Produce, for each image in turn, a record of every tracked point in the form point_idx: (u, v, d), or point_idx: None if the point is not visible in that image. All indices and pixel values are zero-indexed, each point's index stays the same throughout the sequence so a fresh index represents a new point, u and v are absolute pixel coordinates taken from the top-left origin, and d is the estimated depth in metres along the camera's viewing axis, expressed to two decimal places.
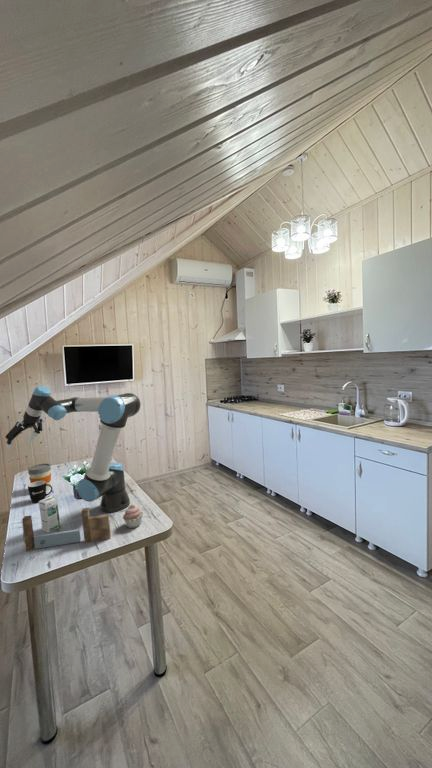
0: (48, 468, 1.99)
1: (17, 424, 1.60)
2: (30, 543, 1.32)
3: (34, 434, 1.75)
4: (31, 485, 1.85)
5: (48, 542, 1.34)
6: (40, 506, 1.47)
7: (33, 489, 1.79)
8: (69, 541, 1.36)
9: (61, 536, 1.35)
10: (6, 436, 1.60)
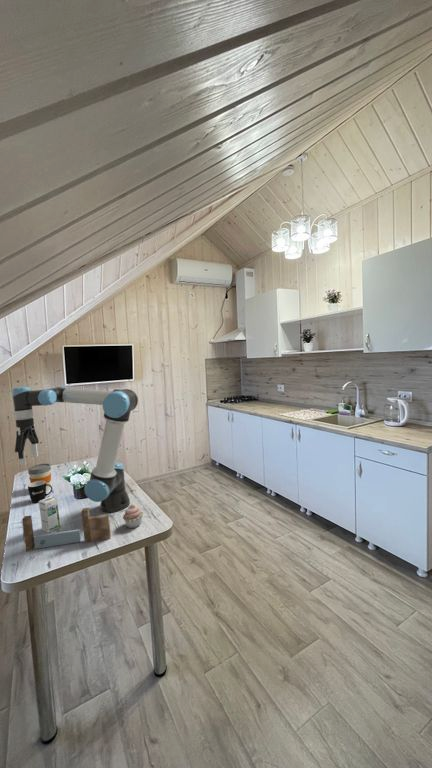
0: (48, 468, 1.99)
1: (18, 433, 1.49)
2: (30, 543, 1.32)
3: (34, 446, 1.63)
4: (31, 485, 1.85)
5: (48, 542, 1.34)
6: (40, 506, 1.47)
7: (33, 489, 1.79)
8: (69, 541, 1.36)
9: (61, 536, 1.35)
10: (16, 449, 1.47)
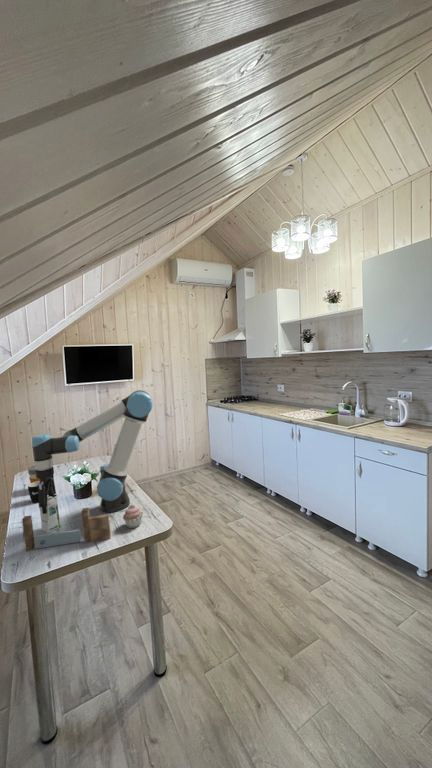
0: None
1: (40, 487, 1.42)
2: (30, 543, 1.32)
3: None
4: (31, 485, 1.85)
5: (48, 542, 1.34)
6: None
7: (33, 489, 1.79)
8: (69, 541, 1.36)
9: (61, 536, 1.35)
10: (40, 505, 1.42)
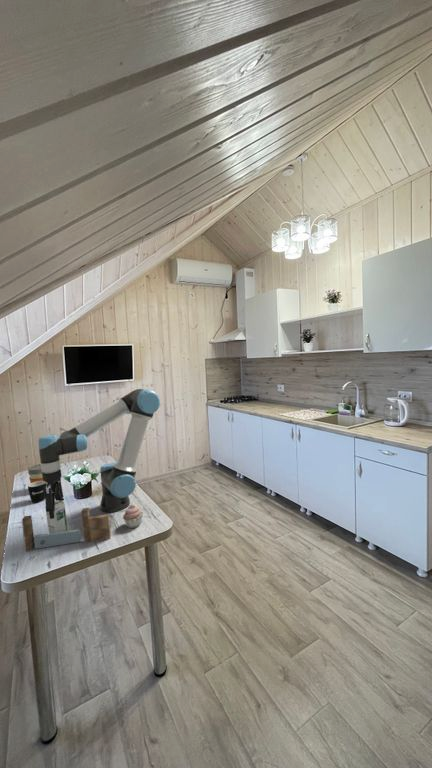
0: None
1: (47, 491, 1.34)
2: (30, 543, 1.32)
3: None
4: (31, 485, 1.85)
5: (48, 542, 1.34)
6: None
7: (33, 489, 1.79)
8: (69, 541, 1.36)
9: (61, 536, 1.35)
10: (47, 509, 1.34)
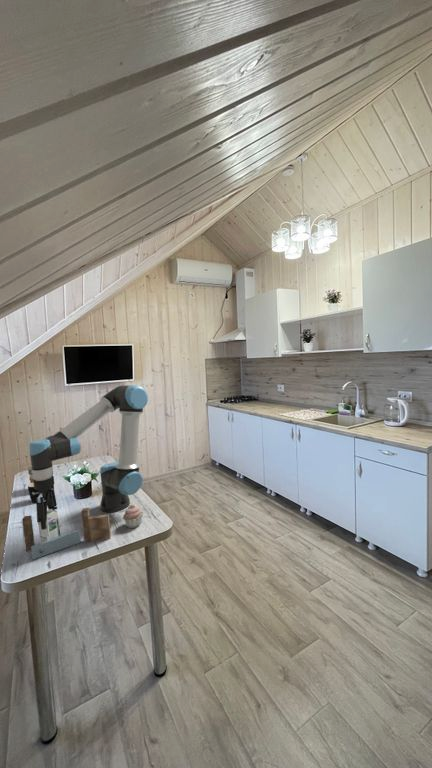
0: None
1: (38, 500, 1.25)
2: (30, 543, 1.32)
3: None
4: (31, 485, 1.85)
5: (47, 549, 1.29)
6: None
7: (33, 489, 1.79)
8: (69, 544, 1.33)
9: (61, 540, 1.32)
10: (38, 520, 1.25)
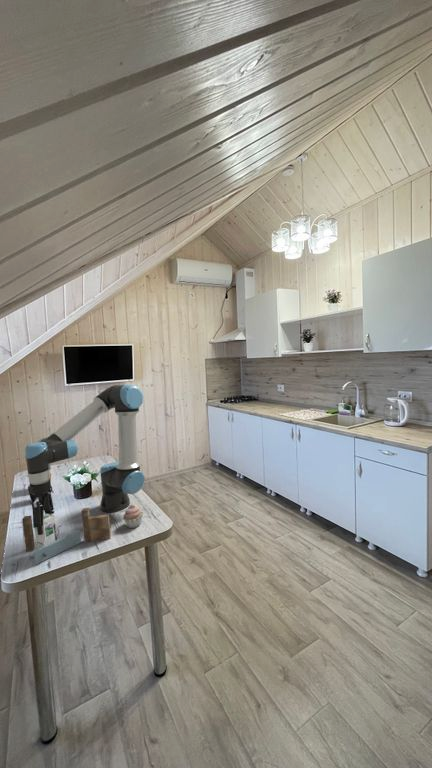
0: None
1: (34, 505, 1.21)
2: (30, 543, 1.32)
3: None
4: None
5: (50, 553, 1.26)
6: None
7: None
8: (71, 545, 1.33)
9: (63, 542, 1.30)
10: (34, 525, 1.21)
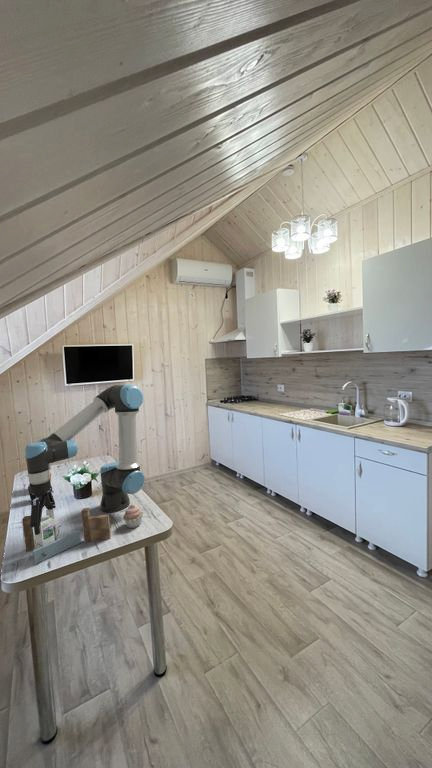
0: None
1: (34, 502, 1.21)
2: (30, 543, 1.32)
3: (51, 512, 1.35)
4: None
5: (49, 552, 1.27)
6: None
7: None
8: (71, 544, 1.33)
9: (63, 542, 1.30)
10: (31, 524, 1.19)
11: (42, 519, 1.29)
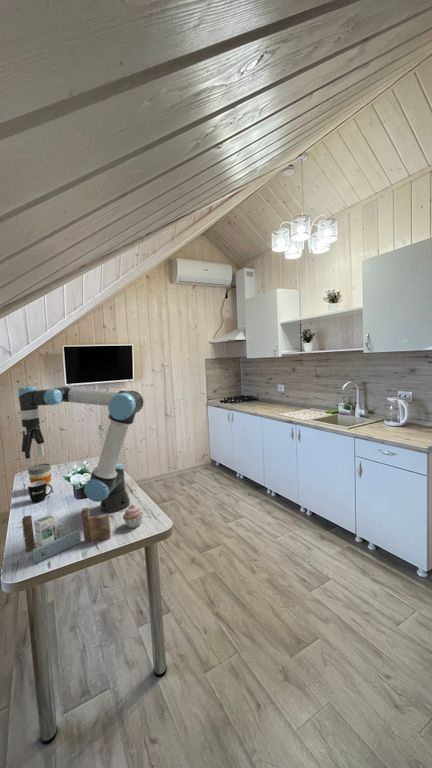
0: (48, 468, 1.99)
1: (25, 432, 1.49)
2: (30, 543, 1.32)
3: (40, 446, 1.63)
4: (31, 485, 1.85)
5: (49, 552, 1.27)
6: (35, 527, 1.28)
7: (33, 489, 1.79)
8: (70, 544, 1.33)
9: (62, 541, 1.31)
10: (22, 449, 1.47)
11: (42, 519, 1.29)
